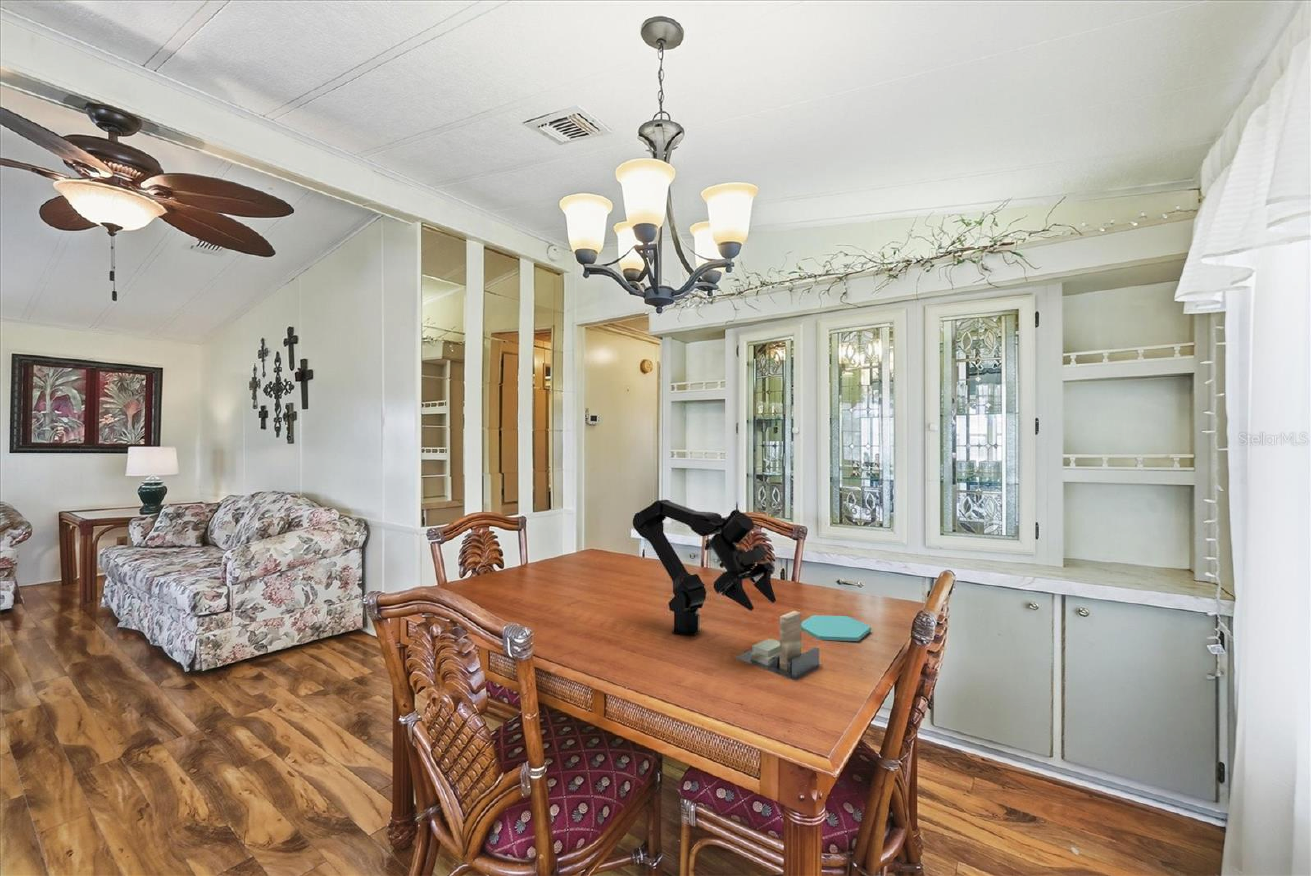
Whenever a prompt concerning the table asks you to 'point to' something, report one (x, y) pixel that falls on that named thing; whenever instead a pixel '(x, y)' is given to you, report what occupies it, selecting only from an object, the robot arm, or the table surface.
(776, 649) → the offcut upper
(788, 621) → the birch block
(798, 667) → the offcut rack
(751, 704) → the table surface
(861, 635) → the plaque
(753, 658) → the offcut lower
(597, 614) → the table surface
